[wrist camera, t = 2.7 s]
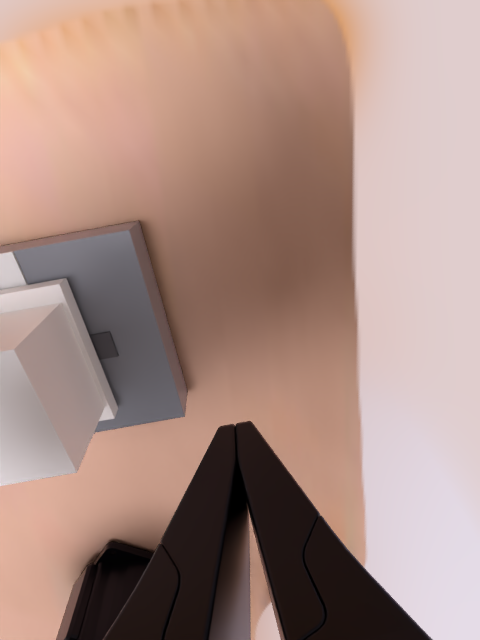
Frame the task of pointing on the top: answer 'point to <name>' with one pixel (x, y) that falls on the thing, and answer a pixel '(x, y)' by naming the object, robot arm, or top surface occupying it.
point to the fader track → (112, 314)
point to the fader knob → (47, 383)
